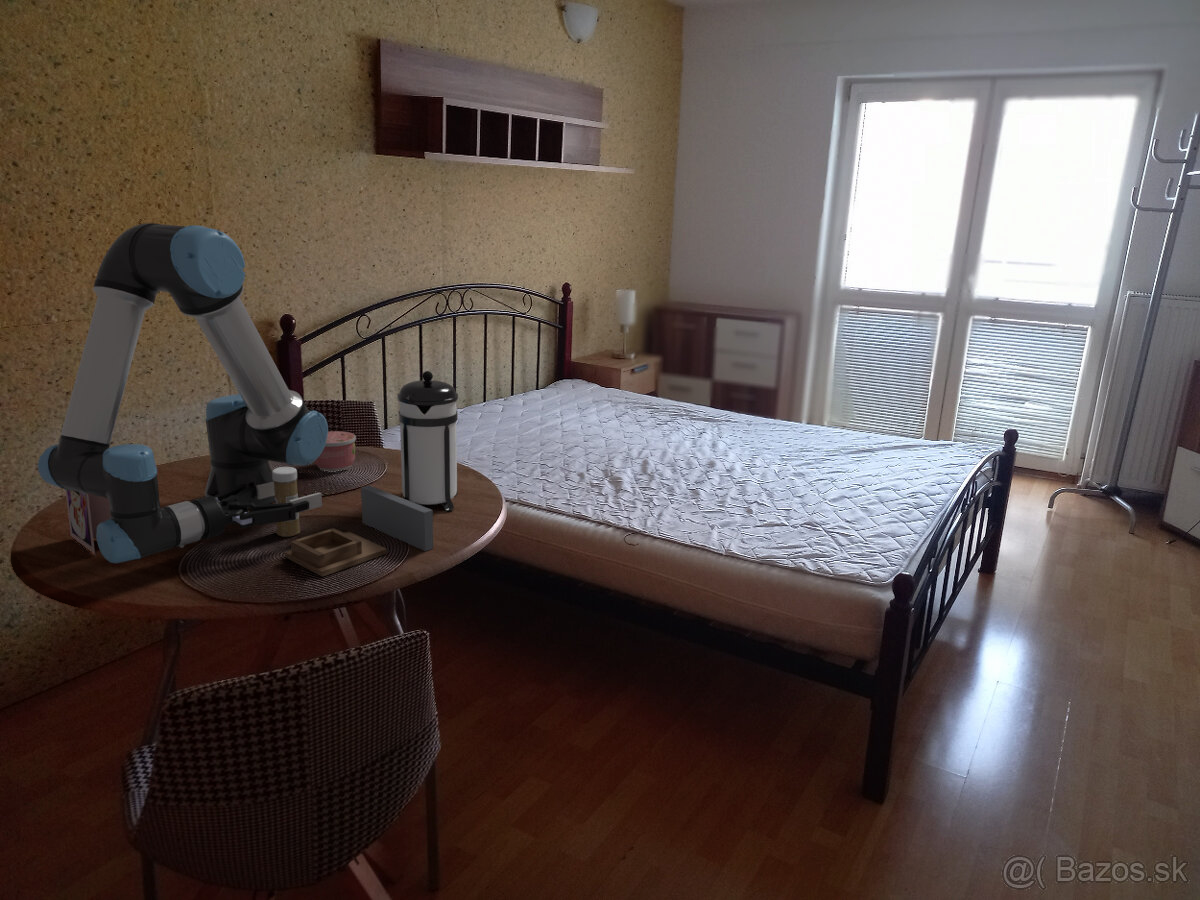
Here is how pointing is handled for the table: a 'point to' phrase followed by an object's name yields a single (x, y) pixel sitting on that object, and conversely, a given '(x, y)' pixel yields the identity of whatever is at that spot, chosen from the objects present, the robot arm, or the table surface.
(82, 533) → the greeting card
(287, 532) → the sprinkles bottle
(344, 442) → the container
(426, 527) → the backstop wall
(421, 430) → the coffee press
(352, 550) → the socket block
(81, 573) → the table surface
